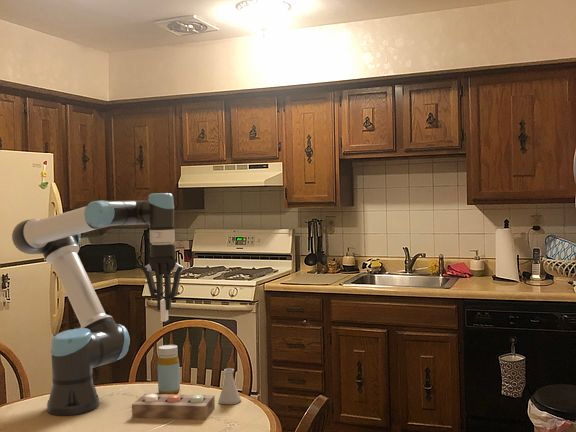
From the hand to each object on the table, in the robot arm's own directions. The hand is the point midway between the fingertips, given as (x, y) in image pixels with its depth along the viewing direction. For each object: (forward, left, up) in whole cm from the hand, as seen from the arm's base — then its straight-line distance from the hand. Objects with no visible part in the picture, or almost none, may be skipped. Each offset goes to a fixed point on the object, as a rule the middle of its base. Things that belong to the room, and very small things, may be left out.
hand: (164, 320), depth 189 cm
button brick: (+6, -4, -25) cm, 26 cm away
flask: (+15, +12, -27) cm, 33 cm away
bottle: (-9, +12, -27) cm, 31 cm away
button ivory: (-1, -6, -25) cm, 26 cm away
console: (+6, -4, -26) cm, 27 cm away
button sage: (+13, -2, -25) cm, 28 cm away
